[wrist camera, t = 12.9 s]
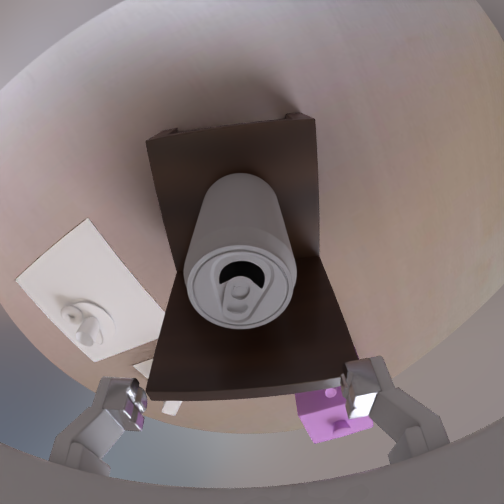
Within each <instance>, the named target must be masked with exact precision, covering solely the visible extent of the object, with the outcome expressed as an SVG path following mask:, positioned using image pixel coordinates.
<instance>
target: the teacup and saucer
mask: <svg viewBox="0 0 504 504" xmlns="http://www.w3.org/2000/svg"><path fill="white" fill-rule="evenodd" d="M59 314H60V317H61V319H62V320H63V321H64V322H65V323H67V324H68V325H71V326H73V327H74V328H75V329H76V332H75V334H74V338H75V340H76V341H77V342H78V343H79V344H80V345H82V346H84V347H87V348H91V347H93V346H94V345H95V346H96V347H101V346H102V345H103V344H104V342H108V341H110V340H112V339H113V338H114V337H115V336H116V334H117V326H116V323H115V321H114V320H113V318H112V317H111V316H110V314H109V313H108V312H106V311H105V310H104V309H103V308H101V307H100V306H98V305H96V304H94V303H91V302H86V301H80V302H76V303H74V304H73V305H70V304H68V305H64V306H63V307H62V308H61V309H60V312H59Z"/></svg>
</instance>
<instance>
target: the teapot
mask: <svg viewBox="0 0 504 504" xmlns="http://www.w3.org/2000/svg"><path fill="white" fill-rule="evenodd" d="M354 348H355V346H354ZM355 350H356V349H355ZM356 353H357V352H356ZM357 356H358V355H357ZM358 359H359V358H358ZM295 398H296V405H297V411H298V416H299V418H300V419H301V421H302V423H303V425H304V427H305V428H306V430H307V432H308V434H309V435H310V437H311V439H312V441H313V442H314V443H315V444H316V443H320V442H323V441H328V440H332V439H335V438H339V437H343V436H346V435H349V434H353V433H356V432H359V431H362V430H365V429H368V428H371V427H373V420H372V419H371V418H370V417H369V416H364V417H359V418H354V419H348V415H347V411H346V407H345V404H346V400H347V399H345V398H344V397H343V396H342V392H341V386H340V387H334V388H329V389H323V390H316V391H310V392H302V393H295Z"/></svg>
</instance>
